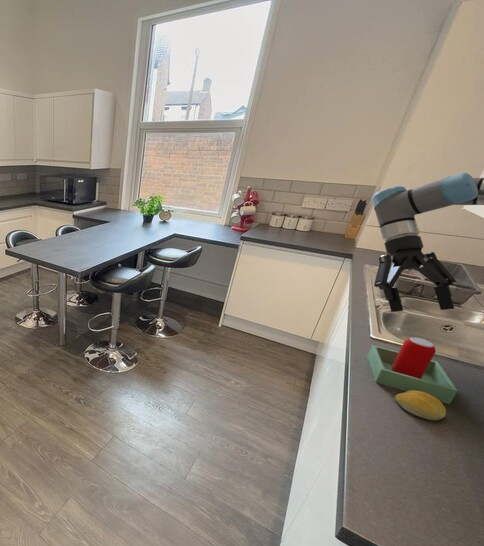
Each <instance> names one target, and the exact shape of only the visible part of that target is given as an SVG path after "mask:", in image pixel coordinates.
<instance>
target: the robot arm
mask: <svg viewBox="0 0 484 546" xmlns="http://www.w3.org/2000/svg"><path fill="white" fill-rule="evenodd" d="M372 202H373V210H374V213H375V215H376V218H377V222H378V226H379V229H380V232H381V237H382V240H383V242H384V248H385V251H386V254H383V255H380V256H378V263H379V264H378V268H377V271H376V275H375V279H374V283H373V286H374V287H375V288H378V289H379V290H381V291H383V293H384V297H385V300H387V301H388V305H389V308H390V313H395V312H403V311H404V308H403V303H402V300H401V297H400V294H399V290H398V287H394V286H395V285H396V283H397V281H398V280H399V278H400V276H401V275H402V273H403V272H404V271H405V270H409V271H410V270H414V271H415V272H419V273H420V274H421V275H423V277H425V278H426V279H427V280H428V281H430V282H431V283H433V284H434V285H435V287H433V289H434V292H435V295H436V300H437V302H438V306H439V309H440V310H441V311H445V310H455V306H454V303H453V300H452V292H451V288H450V286H452V285H454V284H455V283H456V282H457V279H456V278H455V277H454V276H453V275H452V274H451V273H450V272H449V270H448V269H447V268H446V267H445V266H444V265H443V264H442V262H441V261H440V260H439V259H438V257H437V255H436V253H435V252H434V251H430V252H428V253H423V251H422V249H424V243H423V240H422V237H421V236H420V230H419V227H418V224H417V221H416V218H415V216H417V215H421V214H423V213H428V212H431V211H435V210H439V209H440V210H441V209H443V208H447V207H451V206H484V177H472V175H471V174H469V173H468V172H461V173H459V174H458V173H457V174H455V175H451V176H447V177H445V178H442V179H439V180H436V181H433V182H430V183H427V184H424V185H421V186H418V187H415V188H412V189H411V188H410V189H406V187H405V186H402V185H401V186H400V185H399V186H398V185H397V186H392V187H388V188H385V189H382V190H379V191H377V192H376V193H375V194H374V195H373V196H372Z"/></svg>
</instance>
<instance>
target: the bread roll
mask: <svg viewBox="0 0 484 546" xmlns="http://www.w3.org/2000/svg"><path fill="white" fill-rule="evenodd" d="M394 399H395V401H396V402H397V404H398V405H399V406H400V407H401V408H402V409H403V410H405V411H406V412H408V413H409V414H411V415H413V416H415V417H418V418H422V419H425V420H430V421H440V420H442V419H443V418H445V417H446V416H447V409H446V406H444V403H442V402H440V401H439V400H438V399H437V398H435V397H433V396H432V395H430V394H428V393H425V392H421V391H414V390H409V391H403V392H401V393H398V394H396V395H395V398H394Z"/></svg>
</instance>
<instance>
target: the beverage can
mask: <svg viewBox="0 0 484 546" xmlns="http://www.w3.org/2000/svg"><path fill="white" fill-rule="evenodd" d="M398 352H399V353H398V355H397V358H396V360H395V362H394V364H393V366H392V368H391V369H392V371H394V372H397V373H401V374H404V375H408V376H411V377H415V378H418V379H421V378H422V376H423V374H424V372H425V371H426V369H427V367H428V365H429V363H430V361H431V360H432V359H433V358H434V356H435V354H436V347H435V344H433V343H432V342H431V341H429V340H428V339H424V338H420V337H409V338H407V339H405V340H404V342H403V343H402V345H401V348H400V350H399V351H398Z"/></svg>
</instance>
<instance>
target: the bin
mask: <svg viewBox="0 0 484 546" xmlns="http://www.w3.org/2000/svg"><path fill="white" fill-rule="evenodd" d="M398 353H399V351H397V350H393V349H390V348H387V347H386V348H385V347H383V346H382V347H381V346H377V345H374V344H371V347H370V349H369V351H368V353H367V356H366V359H367V362H368V364H369V368H370V370H371V374H372V375H373V379H374V382H375V383H377V384H380V385H384V386H387V387H390V388H392V389H397V390H400V391H403V392H406V391H409V390H414V391H421V392H425V393H428V394H430V395H432V396H433V397H435V398H437V399H438V400H439V401H440V402H441V403H442V404H446V405H450V404H451V403H452V401H453V399H454V397H456V394H457V393H458V389H457V388H456V387H455V385H454V383H453V382H452V381H451V379H450V378H449V376H448V375H447V373H446V371H445V370H444V369H443V367H442V366H441V364H440V363H439V362H438V361H436V360H432V359H431V361H430V363H429V365H428V367H427V369H426V371H425V372H424V374H423V376H422V378H421V379H418V378H415V377H411V376H408V375H404V374H401V373H397V372H394V371H392V369H391V368H392V366H393V364H394V362H395V360H396V358H397V355H398Z"/></svg>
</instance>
